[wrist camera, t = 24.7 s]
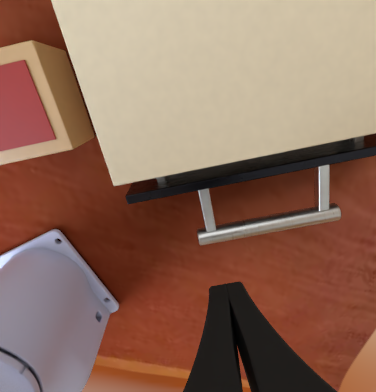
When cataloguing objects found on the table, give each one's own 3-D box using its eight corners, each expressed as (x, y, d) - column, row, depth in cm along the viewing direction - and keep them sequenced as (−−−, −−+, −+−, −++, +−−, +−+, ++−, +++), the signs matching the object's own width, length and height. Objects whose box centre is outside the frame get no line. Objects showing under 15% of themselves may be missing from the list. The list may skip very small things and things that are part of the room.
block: (95, 137, 18) (73, 149, 15) (29, 151, 19) (-11, 167, 15) (66, 50, 16) (30, 39, 13) (-9, 68, 17) (-65, 62, 13)
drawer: (374, 197, 19) (403, 214, 17) (150, 239, 20) (146, 261, 18) (400, -126, 13) (455, -181, 10) (66, -40, 14) (38, -69, 11)
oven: (361, 106, 18) (481, 118, 11) (137, 153, 19) (109, 193, 12) (373, -136, 13) (597, -397, 6) (77, -58, 14) (-30, -204, 7)
